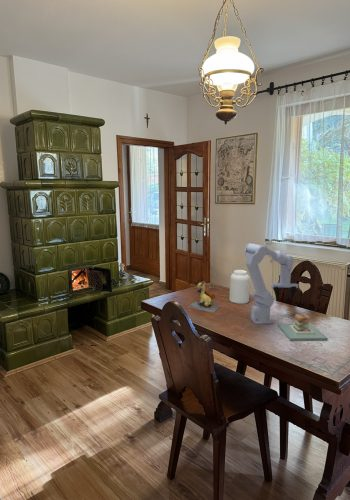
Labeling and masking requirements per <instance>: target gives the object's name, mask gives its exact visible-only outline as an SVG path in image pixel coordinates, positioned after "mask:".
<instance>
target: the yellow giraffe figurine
mask: <svg viewBox="0 0 350 500" xmlns="http://www.w3.org/2000/svg"><path fill="white" fill-rule="evenodd" d="M204 285H206V282H205V281H201V282H199V283H198V284H197V285H196V289H197V290H198V291H199V289H202V291H201V292H200V295H199V297H200V299H199V300H197V301H193V302H192V303H191V304H190V306H188V309H189V308H195V309H196V310H199V311H204V312H212V313H213V312H216V311H217V310H219V309H221V306H222V304H221V303H217V302H214V301H212V300H213V299H211V298H210V296H209V295H208V294H207V293H206V292H205V286H204ZM212 306H213V307H212ZM218 306H220V307H218ZM210 307H211V308H210Z"/></svg>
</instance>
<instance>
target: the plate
mask: <svg viewBox="0 0 350 500" xmlns="http://www.w3.org/2000/svg"><path fill="white" fill-rule="evenodd" d="M277 327H278V329H280V331H281V332H283V334H284V335H285V337H286V338H287V339H288V340H289V341H291V342H295V341H296V342H297V341H298V342H301V341H302V342H303V341H305V342H306V341H328V340H329V338H328V337H327V336H326V335H324V333H322V332H321V331H320V329H318V328H317V327H316V326H315V325H313V324H312V323H309V331H308V332H297V331H296V330H295V323H277Z"/></svg>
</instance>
